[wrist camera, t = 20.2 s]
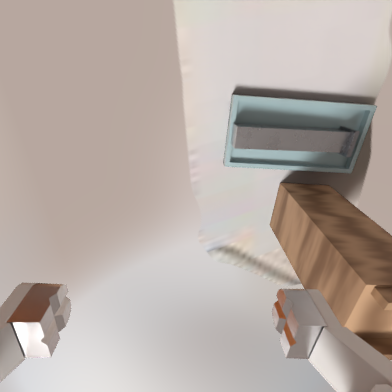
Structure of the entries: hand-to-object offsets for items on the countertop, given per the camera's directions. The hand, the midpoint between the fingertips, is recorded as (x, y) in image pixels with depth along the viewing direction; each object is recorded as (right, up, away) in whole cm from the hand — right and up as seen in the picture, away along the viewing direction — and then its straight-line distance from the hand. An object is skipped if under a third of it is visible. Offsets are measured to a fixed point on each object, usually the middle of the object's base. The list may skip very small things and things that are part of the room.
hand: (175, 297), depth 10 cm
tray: (+18, +15, +35) cm, 42 cm away
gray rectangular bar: (+17, +14, +33) cm, 40 cm away
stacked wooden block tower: (+22, +2, +42) cm, 47 cm away
